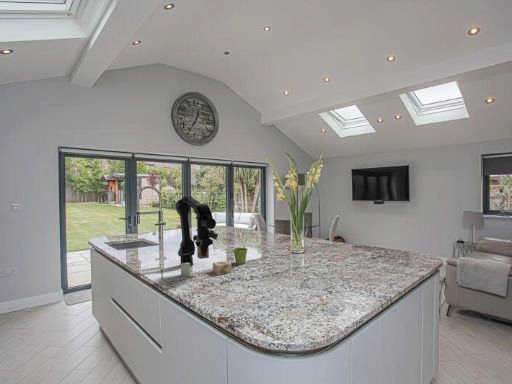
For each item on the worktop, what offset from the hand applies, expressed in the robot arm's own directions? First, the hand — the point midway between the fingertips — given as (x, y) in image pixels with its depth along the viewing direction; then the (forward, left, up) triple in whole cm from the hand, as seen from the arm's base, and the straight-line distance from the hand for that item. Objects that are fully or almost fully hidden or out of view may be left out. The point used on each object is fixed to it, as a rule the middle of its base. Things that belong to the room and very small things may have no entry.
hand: (203, 255), depth 163 cm
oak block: (+9, +6, -10) cm, 15 cm away
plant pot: (+12, +26, -10) cm, 30 cm away
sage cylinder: (-8, -5, -10) cm, 14 cm away
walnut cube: (0, 0, -1) cm, 1 cm away
